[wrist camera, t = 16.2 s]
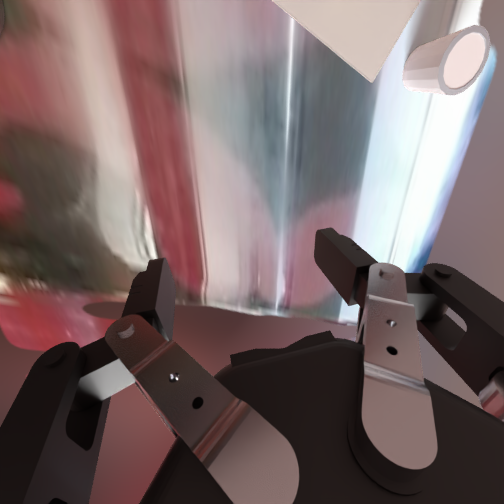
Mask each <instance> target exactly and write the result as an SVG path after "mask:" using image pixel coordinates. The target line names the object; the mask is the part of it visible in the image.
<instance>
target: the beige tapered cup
mask: <svg viewBox="0 0 504 504" xmlns="http://www.w3.org/2000/svg"><path fill="white" fill-rule="evenodd" d="M489 50H490V38H489V33H488V32H487V30H486V29H485V28H484V27H483V26H477V25H473V26H471V27H468V28H465V29H463V30H460V31H457V32H455V33H452V34H449V35H447V36H444V37H441V38H439V39H436V40H434V41H431V42H428V43H426V44H423V45H421V46H419V47H417V48H416V49H415V50H414V51H413V52H412V53H411V54H410V56H409V57H408V59H407V61H406V63H405V66H404V69H403V79H402V80H403V83H404V86H405V88H407V89H408V90H409V91H416V92H426V93H436V94H446V95H456V94H458V93H461V92H463V91H465V90H466V89H467V88H468V87H469V86H470V85H472V84H473V83H474V81H475V80H476V79H477V77H478V76H479V75H480V73H481V72H482V70H483V68H484V66H485V63H486V61H487V59H488V55H489Z"/></svg>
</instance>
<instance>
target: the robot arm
mask: <svg viewBox="0 0 504 504" xmlns="http://www.w3.org/2000/svg"><path fill="white" fill-rule="evenodd" d="M4 20H5V14H4V5H3V1H2V0H0V35H1V32H2V30H3V28H4ZM314 258H315V262H316V264H317V265H318V267H319V268H320V269H321V271H322V272H323V273H324V275H325V276H326V277H327V278H328V280H329V281H330V282H331V284H332V285H333V286H334V287H335V289H336V290H337V291H338V293H339V294H340V295H341V297H342V298H343V299H344V300H345V302H346V303H347V304H348V306H350V305H355V304H359V306H360V308H359V314H358V322H357V330H356V339H355V342H354V341H351V340H347V339H340V338H334V336H333V335H332V333H331V331H326V332H322V333H318V334H314V335H309V336H306V337H304V338H302V339H301V340H299V341H297V342H295V343H293V344H291V345H290V346H288V347H286V348H281V349H253V350H249V351H245V352H240V353H237V354H232V355H230V358H231V364H229V365H228V366H226V367H224V368H223V369H222V370H220V371H219V372H218V373H217V374H216V375H215V376H214V377H213V376H212V375H211V374H210V373H209V372H208V371H207V370H205V369H204V368H203V367H202V366H201V365H200V364H199V363H198V362H197V361H196V360H195V359H193V358H192V357H191V356H190V355H189V354H188V353H187V352H186V351H185V350H184V349H182V347H180V346H179V345H178V344H177V343H176V342H175V341H173V340H172V334H173V322H174V308H175V296H176V289H175V283H174V280H173V277H172V274H171V271H170V268H169V265H168V262H167V260H166V258H159V259H154V260H149V262H148V266H147V270H146V271H143V272H140V273H139V274H138V275H137V276H136V277H135V278H134V279H133V282H132V285H131V289H130V292H129V295H128V298H127V301H126V305H125V308H124V311H123V314H122V317H121V318H120V319H118V320H117V321H115V322H114V323H113V324H112V325H111V326H110V327H109V328H108V329H107V331H106V333H105V337H103V338H101V339H99V340H97V341H95V342H92V343H90V344H88V345H86V346H84V347H82V348H80V347H79V345H78V344H77V343H75V342H65V343H61V344H58V345H56V346H54V347H52V348H51V349H49V350H47V351H46V352H45V353H44V354H42V355H41V356H40V357H39V358H38V359H37V361H36V362H35V363H34V365H33V366H32V368H31V370H30V372H29V374H28V376H27V378H26V380H25V382H24V383H23V385H22V387H21V389H20V391H19V393H18V395H17V397H16V399H15V401H14V402H13V404H12V406H11V408H10V410H9V412H8V414H7V416H6V418H5V419H4V421H3V423H2V425H1V427H0V504H89V499H90V495H91V489H92V485H93V480H94V475H95V471H96V465H97V461H98V456H99V451H100V447H101V442H102V437H103V432H104V428H105V423H106V418H107V413H108V408H109V404H110V399H111V395H113V394H115V393H117V392H119V391H120V390H122V389H124V388H126V387H128V386H129V385H131V384H133V383H135V385H136V386H137V387H138V389H139V390H140V391H141V393H142V394H143V395H144V396H145V398H146V399H147V400H148V402H149V403H150V404H151V406H152V407H153V408H154V410H155V411H156V412H157V413H158V415H159V416H160V418H161V419H162V421H163V422H164V423H165V425H166V426H167V428H168V429H169V430H170V432H171V433H172V434H173V436H174V437H175V438H176V439H175V441H174V443H173V445H172V447H171V449H170V450H169V452H168V454H167V455H166V457H165V459H164V461H163V463H162V464H161V466H160V468H159V470H158V471H157V473H156V475H155V477H154V478H153V480H152V482H151V484H150V485H149V487H148V489H147V491H146V492H145V494H144V496H143V498H142V500H141V501H140V503H139V504H504V302H503V301H501V300H499V299H498V298H497V297H495V296H494V295H492V294H491V293H490V292H488V291H487V290H485V289H484V288H482V287H481V286H479V285H478V284H476V283H475V282H474V281H472V280H471V279H469V278H468V277H466V276H465V275H463V274H462V273H460V272H459V271H458V270H456V269H454V268H452V267H450V266H447V265H443V264H437V263H432V264H427V265H425V266H424V268H423V270H422V272H421V273H404V272H403V270H401V269H400V268H399V267H397V266H395V265H392V264H389V263H378V262H377V261H376V260H375V259H374V258H373V257H371V256H370V255H369V254H368V253H367V252H366V251H364V250H363V249H362V248H361V247H360V246H359V245H357V244H356V243H355V242H354V241H353V240H352V239H350V238H348V237H346V236H344V235H339V234H338V233H337V232H336V231H335V230H334V229H333V228H326V229H321V230H317V231H316V237H315V249H314ZM448 307H450V308H451V309H452V310H453V311H454V312H456V313H457V314H458V315H459V316H460V317H461V318H462V319H463V320H464V321H465V323H466V325H467V331H466V332H465V331H464V330H463V329H462V328H461V327H459V326H458V325H457V324H456V323H455V322H454V321H453V320H452V319H451V318H450V317H448V316H447V315H446V314H445V313H446V311H447V309H448ZM417 330H418V331H419V332H420V333H421V334H422V335H423V336H424V337H425V339H426V340H427V341H428V342H429V343H430V344H431V345H432V346H433V347H434V348H435V350H436V351H437V352H438V353H439V354H440V355H441V356H442V357H443V358H444V359H445V361H446V362H447V363H448V364H449V365H450V366H451V367H452V368H453V369H454V370H455V372H456V373H457V374H458V375H459V376H460V377H461V378H462V379H463V380H464V382H465V383H466V384H467V385H468V386H469V387H470V388H471V389H472V390H473V391H474V393H475V394H476V395H477V396H478V397H479V402H480V404H481V406H482V408H483V409H481V408H479V407H477V406H475V405H473V404H472V403H469V402H468V401H466V400H464V399H462V398H460V397H459V396H457V395H455V394H453V393H451V392H449V391H447V390H445V389H443V388H442V387H440V386H438V385H436V384H434V383H432V382H431V381H429V380H427V379H425V378H423V370H422V363H421V355H420V348H419V339H418V331H417Z"/></svg>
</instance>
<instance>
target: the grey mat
mask: <svg viewBox="0 0 504 504" xmlns="http://www.w3.org/2000/svg"><path fill="white" fill-rule="evenodd" d="M271 1H273V2H274V3H275V4H276V5H278V6H279V7H280V8H281V9H282V10H284V11H285V12H286V13H287V14H288V15H290V16H291V17H292V18H293V19H294V20H296V21H297V22H298V23H299V24H301V25H302V26H303V27H304V28H305V29H307V30H308V31H309V32H310V33H311V34H313V35H314V36H315V37H316V38H317V39H319V40H320V41H321V42H322V43H324V44H325V45H326V46H327V47H328V48H330V49H331V50H332V51H333V52H334V53H336V54H337V55H338V56H339V57H340V58H342V59H343V60H344V61H345V62H346V63H348V64H349V65H350V66H351V67H353V68H354V69H355V70H356V71H357V72H359V73H360V74H361V75H362V76H363V77H365V78H366V79H367V80H368V81H369V82H371V83H373V81H374V79H375V78H376V76H377V74H378V73H379V71H380V69H381V67H382V66H383V64H384V62H385V61H386V59H387V57H388V55H389V54H390V52H391V50H392V49H393V47H394V45H395V44H396V42H397V40H398V38H399V37H400V35H401V33H402V32H403V30H404V28H405V27H406V25H407V23H408V21H409V20H410V18H411V16H412V15H413V13H414V11H415V9H416V8H417V6H418V4H419V3H420V1H421V0H271Z"/></svg>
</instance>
